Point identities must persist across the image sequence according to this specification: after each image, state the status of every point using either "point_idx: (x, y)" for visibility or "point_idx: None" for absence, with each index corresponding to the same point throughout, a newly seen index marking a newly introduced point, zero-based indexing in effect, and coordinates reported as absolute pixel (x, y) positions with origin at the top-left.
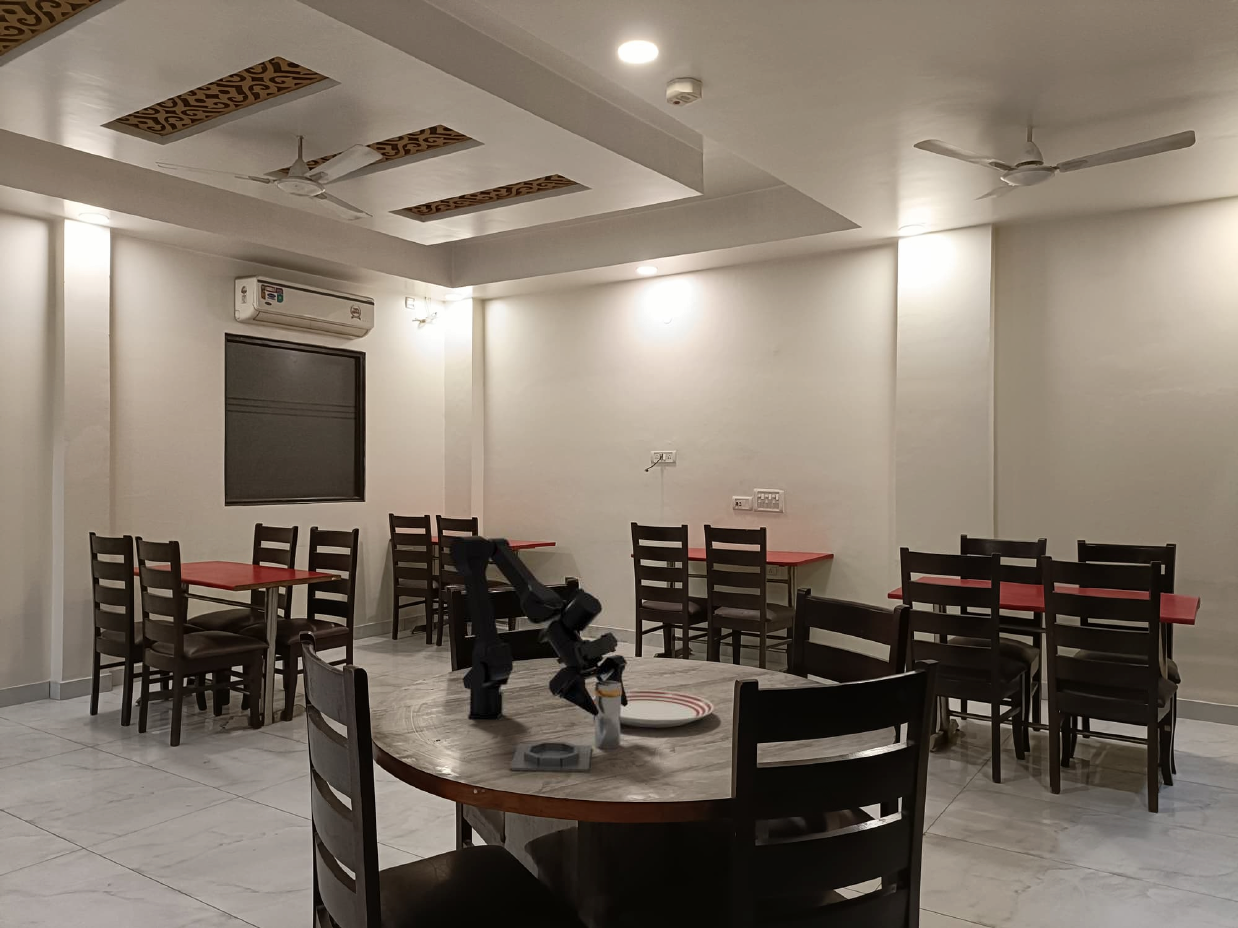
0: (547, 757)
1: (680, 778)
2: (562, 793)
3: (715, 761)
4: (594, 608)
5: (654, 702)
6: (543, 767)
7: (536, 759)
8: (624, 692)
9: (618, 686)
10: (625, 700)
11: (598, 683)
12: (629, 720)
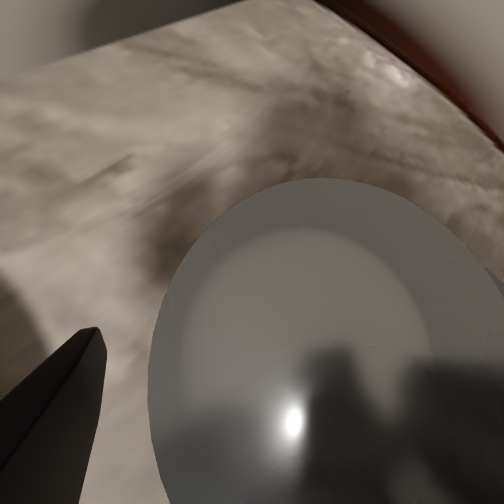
0: (501, 293)
1: (274, 62)
2: (495, 164)
3: (120, 54)
4: None
5: None
6: (496, 284)
7: None
8: (6, 405)
9: (314, 182)
10: (89, 341)
11: (492, 467)
12: None
